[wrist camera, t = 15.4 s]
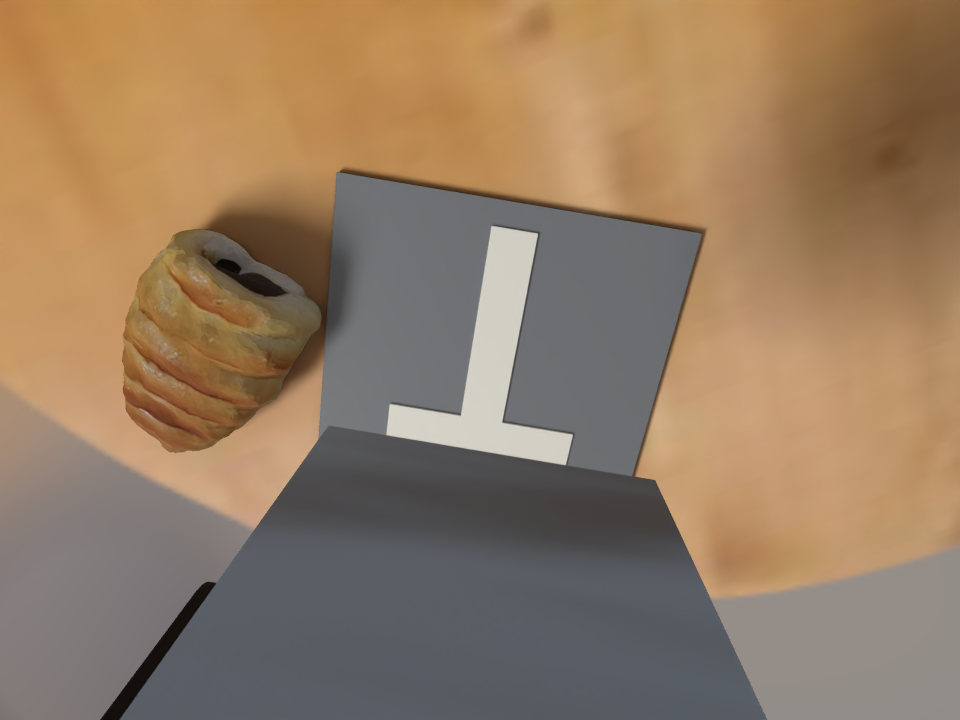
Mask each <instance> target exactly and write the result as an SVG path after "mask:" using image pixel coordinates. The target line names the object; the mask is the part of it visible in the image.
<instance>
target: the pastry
mask: <svg viewBox="0 0 960 720" xmlns="http://www.w3.org/2000/svg"><path fill="white" fill-rule="evenodd" d="M321 319H322V315H321V312H320V309H319V307H318V305H317V304H316V303H315V302H314V301H313V300H312V299H310V298H308V297H307V296H306V294H305V290H304V289H303V288H302V287H301V286H300V285H299V284H298V283H296V282H295V281H294V280H292V279H291V278H290V277H288V276H287V275H286V274H283V273H280V272H278V271H276V270H274V269H273V268H271V267H269V266H267V265H264V264H262V263H259V262H257V261H255V260H254V259H253V258H252V257H251V256H250V255H249V254H248V252H247V251H246V250H245V249H244V248H243V247H242V246H240V245H239V244H238V243H236V242H235V241H233V240H231V239H229V238H228V237H226V236H225V235H223V234H221V233H218V232H214V231H209V230H203V229H194V230H186V231H181V232H179V233H177V234H175V235H173V237H172V239H171V242H170V243H169V245H168V246H167V247H166V249H165V250H163V251H161V252H160V253H159V254H158V255H157V257H156V258H155V259H154V260H153V262H152V263H151V265H150V267H149V268H148V269H147V270H146V271H145V272H144V273H143V274H142V276H141V277H140V278H139V281H138V285H137V290H136V293H135V299H134V301H133V303H132V304H131V306H130V309H129V312H128V315H127V317H126V320H125V321H126V327H125V331H124V334H123V341H124V344H125V346H124V351H123V357H122V362H123V365H124V374H123V375H124V386H123V393H124V396H125V402H126V411H127V413H128V414H129V416H130V417H131V419H132V420H133V421H134V422H135V423H136V424H137V425H138V426H139V427H141V428H142V429H143V430H145V431H146V432H147V433H148V434H150V435H151V436H153V437H154V438H156V439H157V440H158V441H159V442H160V443H161V445H162V446H163V447H164V448H165V449H166V450H167V451H169V452H175V453H177V452H185V451H199V450H203V449H206V448H209V447H211V446H213V445H214V444H216V443H217V442H218V441H219V440H221V439H222V438H225V437H227V436H229V435H230V434H231V433H232V432H233V431H234V430H236V429H239V428H240V427H242V426H243V425H244V424H245V423H246V422H247V421H248V420H249V419H250V418H251V417H252V416H253V415H254V414H255V413H256V411H257V410H258V409H259V408H260V407H262V406H263V405H265V404H267V403H270V402H272V401H273V400H275V399H276V398H277V397H278V395H279V394H280V392H281V390H282V385H283V379H284V378H285V377H286V375H287V374H288V373H289V371H290V369H291V367H292V365H293V363H294V361H295V360H296V358H297V357H298V356H299V355H300V354H301V352H302V350H303V348H304V347H305V345H306V343H307V341H308V339H309V338H310V336H311V335H312V334H313V333H314V332H316V331H317V330H318V329H319V328H320V324H321Z"/></svg>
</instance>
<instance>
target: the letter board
mask: <svg viewBox="0 0 960 720" xmlns="http://www.w3.org/2000/svg"><path fill="white" fill-rule="evenodd" d="M701 236H702V233H697V232H691V231H685V230H679V229H673V228H667V227H661V226H656V225H650V224H644V223H638V222H632V221H626V220H620V219H614V218H608V217H602V216H596V215H590V214H584V213H578V212H572V211H566V210H560V209H555V208H549V207H543V206H537V205H531V204H525V203H519V202H513V201H507V200H501V199H495V198H489V197H483V196H477V195H471V194H465V193H459V192H454V191H448V190H442V189H436V188H430V187H424V186H418V185H412V184H406V183H400V182H394V181H388V180H382V179H376V178H370V177H364V176H358V175H352V174H347V173H341V172H337V174H336V189H335V204H334V219H333V233H332V248H331V263H330V277H329V292H328V307H327V322H326V336H325V351H324V366H323V380H322V395H321V410H320V425H319V438H320V437H321V436H322V434H323V433H324V431H325V430H326V429H327V427H328V426H335V427H341V428H347V429H353V430H359V431H365V432H371V433H377V434H383V435H389V436H395V437H401V438H407V439H413V440H419V441H425V442H431V443H437V444H442V445H448V446H454V447H460V448H466V449H472V450H478V451H484V452H490V453H496V454H502V455H508V456H514V457H520V458H526V459H532V460H538V461H544V462H550V463H556V464H562V465H567V466H573V467H579V468H585V469H591V470H597V471H603V472H609V473H615V474H621V475H627V476H632V475H633V472H634V468H635V465H636V461H637V458H638V454H639V451H640V447H641V444H642V440H643V437H644V433H645V430H646V427H647V423H648V420H649V416H650V413H651V409H652V406H653V402H654V399H655V395H656V392H657V388H658V385H659V381H660V378H661V374H662V371H663V367H664V364H665V361H666V357H667V354H668V350H669V347H670V343H671V340H672V336H673V333H674V329H675V326H676V322H677V319H678V315H679V312H680V308H681V305H682V302H683V298H684V295H685V291H686V288H687V284H688V281H689V277H690V274H691V270H692V267H693V263H694V260H695V256H696V253H697V249H698V246H699V242H700V239H701ZM318 440H319V439H318Z"/></svg>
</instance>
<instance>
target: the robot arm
mask: <svg viewBox="0 0 960 720" xmlns="http://www.w3.org/2000/svg"><path fill="white" fill-rule="evenodd" d="M215 585H216V583H213V582H206V583H204V584H202V585H201V587H200V588H199V589H198V590H197V591H196V592H195V594H194V595H193V596H192V598H191V599H190V600H189V602H188V603H187V604H186V606H185V607H184V608H183V610H182V611H181V612H180V614H179V615H178V617H177V618H176V619H175V620H174V622H173V623H172V625H171V626H170V627H169V628H168V630H167V631H166V633H165V634H164V635H163V637H162V638H161V639H160V640H159V642H158V643H157V645H156V646H155V647H154V649H153V650H152V651H151V653H150V654H149V655H148V657H147V658H146V659H145V661H144V662H143V663H142V665H141V666H140V667H139V669H138V670H137V671H136V673H135V674H134V676H133V677H132V678H131V679H130V681H129V682H128V683H127V685H126V686H125V687H124V689H123V690H122V691H121V693H120V694H119V696H118V697H117V698H116V700H115V701H114V702H113V704H112V705H111V706H110V708H109V709H108V710H107V712H106V713H105V714H104V716H103V717H102V719H101V720H120V718H121V717H122V716H123V714H124V713H125V711H126V710H127V709H128V707H129V706H130V704H131V703H132V702H133V700H134V699H135V697H136V696H137V695H138V693H139V692H140V690H141V689H142V687H143V686H144V685H145V683H146V682H147V680H148V679H149V678H150V676H151V675H152V673H153V672H154V671H155V669H156V668H157V666H158V665H159V664H160V662H161V661H162V659H163V658H164V657H165V655H166V654H167V652H168V651H169V649H170V648H171V647H172V645H173V644H174V642H175V641H176V640H177V638H178V637H179V635H180V634H181V633H182V631H183V630H184V628H185V627H186V626H187V624H188V623H189V621H190V620H191V619H192V617H193V616H194V614H195V613H196V611H197V610H198V609H199V607H200V606H201V604H202V603H203V602H204V600H205V599H206V597H207V596H208V595H209V593H210V592H211V590H212V589H213V588H214V586H215Z"/></svg>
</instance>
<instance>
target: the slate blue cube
mask: <svg viewBox="0 0 960 720" xmlns="http://www.w3.org/2000/svg"><path fill="white" fill-rule="evenodd" d="M120 720H767V718H766V716H765V714H764V712H763V710H762V708H761V706H760V704H759V702H758V699H757V697H756V696H755V693H754V691H753V688H752V686H751V684H750V682H749V680H748V678H747V676H746V674H745V671H744V669H743V667H742V665H741V663H740V661H739V659H738V656H737V654H736V652H735V650H734V648H733V646H732V644H731V641H730V639H729V637H728V635H727V633H726V631H725V629H724V626H723V624H722V622H721V620H720V618H719V616H718V614H717V612H716V610H715V607H714V605H713V603H712V601H711V599H710V597H709V594H708V592H707V590H706V588H705V586H704V584H703V582H702V579H701V577H700V575H699V573H698V571H697V569H696V567H695V565H694V562H693V560H692V558H691V556H690V554H689V552H688V550H687V547H686V545H685V543H684V541H683V539H682V537H681V535H680V532H679V530H678V528H677V526H676V524H675V522H674V520H673V518H672V515H671V513H670V511H669V509H668V507H667V505H666V503H665V500H664V498H663V496H662V494H661V492H660V490H659V488H658V486H657V483H656V481H655V480H651V479H645V478H639V477H633V476H627V475H621V474H615V473H609V472H603V471H597V470H591V469H585V468H579V467H573V466H567V465H562V464H556V463H550V462H544V461H538V460H532V459H526V458H520V457H514V456H508V455H502V454H496V453H490V452H484V451H478V450H472V449H466V448H460V447H454V446H448V445H442V444H437V443H431V442H425V441H419V440H413V439H407V438H401V437H395V436H389V435H383V434H377V433H371V432H365V431H359V430H353V429H347V428H341V427H335V426H328V427H327V429H326V430H325V431H324V433H323V434H322V436H321V437H320V438H319V440H318V441H317V443H316V444H315V445H314V447H313V448H312V450H311V451H310V452H309V454H308V455H307V457H306V458H305V459H304V461H303V462H302V464H301V465H300V467H299V468H298V469H297V471H296V472H295V474H294V475H293V476H292V478H291V479H290V481H289V482H288V483H287V485H286V486H285V488H284V489H283V490H282V492H281V493H280V495H279V496H278V497H277V499H276V500H275V502H274V503H273V505H272V506H271V507H270V509H269V510H268V512H267V513H266V514H265V516H264V517H263V519H262V520H261V521H260V523H259V524H258V526H257V527H256V528H255V530H254V531H253V533H252V534H251V535H250V537H249V538H248V540H247V541H246V543H245V544H244V545H243V547H242V549H241V550H240V551H239V553H238V554H237V555H236V557H235V558H234V559H233V561H232V562H231V564H230V565H229V567H228V568H227V569H226V571H225V572H224V573H223V575H222V576H221V578H220V579H219V581H218V582H217V583H216V585H215V586H214V588H213V589H212V590H211V592H210V593H209V595H208V596H207V597H206V599H205V600H204V602H203V603H202V604H201V606H200V607H199V609H198V610H197V611H196V613H195V614H194V616H193V617H192V619H191V620H190V621H189V623H188V624H187V626H186V627H185V628H184V630H183V631H182V633H181V634H180V635H179V637H178V638H177V640H176V641H175V642H174V644H173V645H172V647H171V648H170V649H169V651H168V652H167V654H166V655H165V657H164V658H163V659H162V661H161V662H160V664H159V665H158V666H157V668H156V669H155V671H154V672H153V673H152V675H151V676H150V678H149V679H148V680H147V682H146V683H145V685H144V686H143V687H142V689H141V690H140V692H139V693H138V695H137V696H136V697H135V699H134V700H133V702H132V703H131V704H130V706H129V707H128V709H127V710H126V711H125V713H124V714H123V716H122V717H121V718H120Z"/></svg>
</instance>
